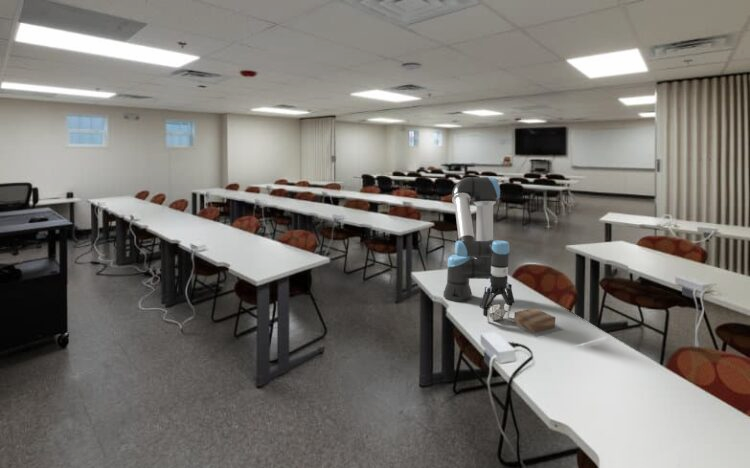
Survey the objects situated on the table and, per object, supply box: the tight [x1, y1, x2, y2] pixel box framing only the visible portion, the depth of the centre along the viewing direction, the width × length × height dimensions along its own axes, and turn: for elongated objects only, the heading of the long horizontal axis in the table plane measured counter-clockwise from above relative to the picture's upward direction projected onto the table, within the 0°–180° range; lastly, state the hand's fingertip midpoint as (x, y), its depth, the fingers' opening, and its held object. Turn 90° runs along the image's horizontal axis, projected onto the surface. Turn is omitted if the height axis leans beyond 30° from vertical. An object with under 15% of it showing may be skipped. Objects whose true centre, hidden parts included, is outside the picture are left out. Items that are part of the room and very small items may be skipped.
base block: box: [513, 307, 557, 333], centre depth 176 cm, size 12×12×5 cm
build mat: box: [506, 318, 564, 338], centre depth 176 cm, size 18×16×1 cm
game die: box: [489, 302, 508, 323], centre depth 182 cm, size 9×8×10 cm
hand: (496, 320), depth 183 cm, fingers open, 11 cm apart
